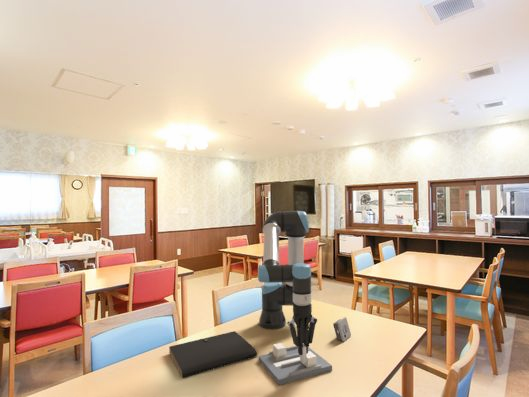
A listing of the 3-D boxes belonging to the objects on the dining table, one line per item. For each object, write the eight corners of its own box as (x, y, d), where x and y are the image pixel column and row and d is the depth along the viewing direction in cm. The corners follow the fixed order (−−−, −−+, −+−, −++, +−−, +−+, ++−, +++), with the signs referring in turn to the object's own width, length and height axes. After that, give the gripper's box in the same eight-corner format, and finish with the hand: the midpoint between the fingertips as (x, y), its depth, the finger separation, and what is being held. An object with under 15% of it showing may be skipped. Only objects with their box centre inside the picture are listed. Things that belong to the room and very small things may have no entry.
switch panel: (258, 360, 131) (258, 353, 132) (306, 349, 141) (306, 343, 141) (278, 385, 113) (278, 377, 113) (332, 370, 123) (331, 362, 123)
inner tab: (273, 353, 133) (272, 344, 133) (281, 351, 134) (281, 342, 134) (278, 359, 128) (277, 349, 128) (286, 357, 130) (286, 347, 130)
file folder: (234, 330, 156) (257, 349, 135) (234, 338, 156) (257, 359, 135) (168, 345, 139) (182, 370, 118) (169, 354, 139) (182, 381, 118)
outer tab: (301, 362, 125) (301, 352, 125) (310, 360, 126) (309, 350, 126) (308, 368, 120) (308, 358, 120) (316, 366, 122) (316, 356, 122)
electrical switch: (343, 342, 148) (341, 322, 149) (334, 340, 151) (331, 321, 152) (351, 336, 155) (349, 317, 156) (342, 334, 158) (340, 316, 159)
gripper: (292, 308, 117) (293, 370, 116) (320, 303, 122) (322, 362, 121) (283, 302, 124) (284, 361, 123) (310, 298, 129) (312, 354, 128)
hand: (303, 361), depth 122 cm, fingers closed
